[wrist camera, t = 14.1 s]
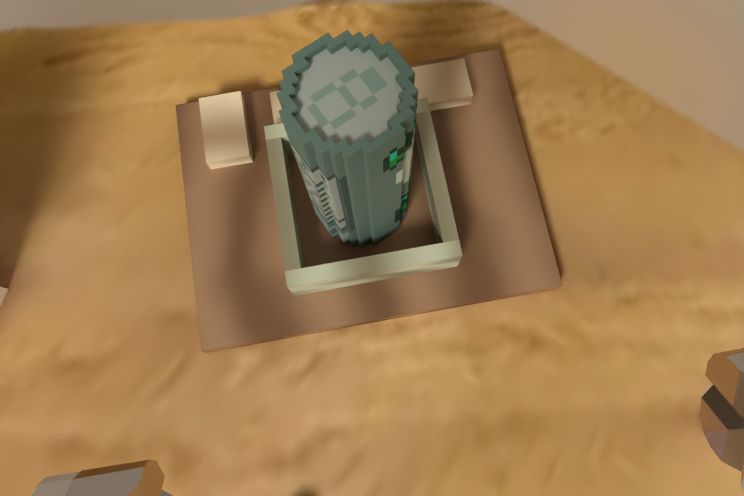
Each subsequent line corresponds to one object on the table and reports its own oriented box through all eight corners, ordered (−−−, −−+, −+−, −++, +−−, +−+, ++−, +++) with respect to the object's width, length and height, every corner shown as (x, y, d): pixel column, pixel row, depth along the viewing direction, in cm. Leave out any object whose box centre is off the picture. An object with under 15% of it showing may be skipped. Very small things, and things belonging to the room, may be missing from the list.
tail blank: (203, 106, 44) (198, 98, 43) (244, 99, 44) (240, 90, 43) (211, 169, 43) (206, 162, 42) (253, 162, 43) (249, 155, 42)
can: (423, 212, 42) (441, 105, 27) (350, 262, 41) (328, 180, 26) (372, 145, 43) (363, 10, 28) (300, 193, 42) (254, 78, 28)
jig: (496, 57, 46) (506, 23, 42) (557, 288, 41) (575, 275, 37) (181, 113, 45) (160, 83, 41) (206, 352, 41) (186, 346, 37)
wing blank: (462, 67, 44) (463, 58, 43) (471, 104, 44) (473, 95, 42) (272, 100, 44) (269, 92, 43) (278, 138, 43) (275, 130, 42)
